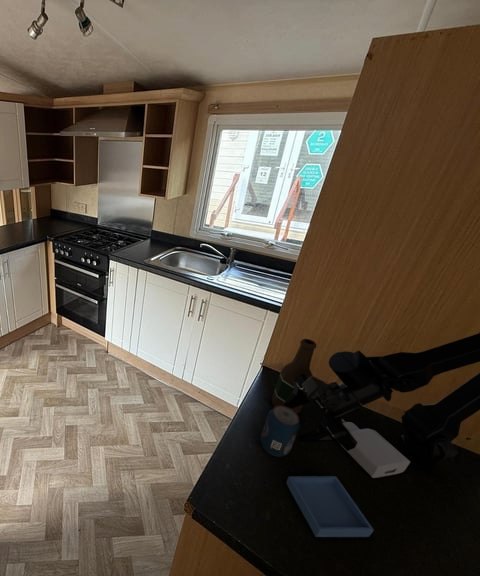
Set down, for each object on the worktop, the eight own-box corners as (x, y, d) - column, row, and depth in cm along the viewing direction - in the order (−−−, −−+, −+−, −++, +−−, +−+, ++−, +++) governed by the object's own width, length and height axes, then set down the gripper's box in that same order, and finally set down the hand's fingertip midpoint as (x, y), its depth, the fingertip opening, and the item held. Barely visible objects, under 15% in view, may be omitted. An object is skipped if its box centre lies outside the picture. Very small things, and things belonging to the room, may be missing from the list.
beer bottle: (265, 397, 97) (286, 334, 87) (288, 395, 98) (312, 332, 87) (281, 418, 90) (306, 351, 80) (306, 415, 91) (334, 349, 80)
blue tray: (332, 483, 73) (336, 476, 72) (369, 537, 64) (374, 530, 62) (285, 483, 73) (288, 476, 72) (315, 537, 64) (319, 530, 62)
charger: (348, 422, 89) (403, 473, 76) (320, 427, 88) (371, 479, 74) (354, 410, 87) (412, 460, 74) (326, 414, 86) (379, 466, 72)
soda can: (261, 431, 86) (272, 399, 81) (290, 444, 83) (303, 411, 77) (256, 449, 81) (268, 417, 76) (286, 464, 78) (301, 431, 72)
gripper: (312, 348, 78) (257, 378, 84) (363, 405, 62) (289, 439, 67) (334, 374, 81) (279, 402, 87) (388, 436, 65) (315, 465, 70)
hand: (289, 423), depth 78 cm, fingers open, 9 cm apart
